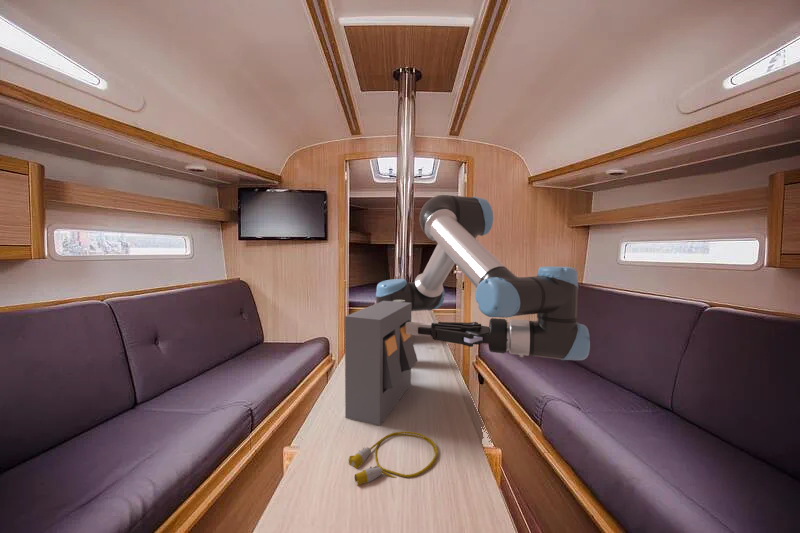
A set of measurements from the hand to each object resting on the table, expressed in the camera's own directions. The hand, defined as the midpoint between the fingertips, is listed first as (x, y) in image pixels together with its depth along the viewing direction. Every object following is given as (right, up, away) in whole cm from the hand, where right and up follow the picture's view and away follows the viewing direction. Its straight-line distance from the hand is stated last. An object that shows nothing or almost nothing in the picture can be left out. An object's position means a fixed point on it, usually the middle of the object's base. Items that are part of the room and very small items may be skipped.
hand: (406, 327), depth 76 cm
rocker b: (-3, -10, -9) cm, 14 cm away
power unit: (-6, -17, -2) cm, 18 cm away
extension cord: (-3, -19, -22) cm, 29 cm away
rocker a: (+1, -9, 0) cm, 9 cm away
